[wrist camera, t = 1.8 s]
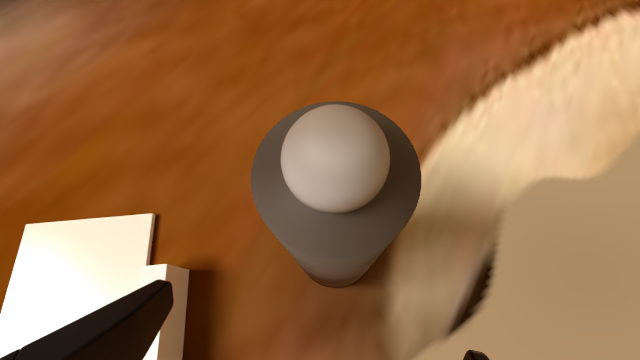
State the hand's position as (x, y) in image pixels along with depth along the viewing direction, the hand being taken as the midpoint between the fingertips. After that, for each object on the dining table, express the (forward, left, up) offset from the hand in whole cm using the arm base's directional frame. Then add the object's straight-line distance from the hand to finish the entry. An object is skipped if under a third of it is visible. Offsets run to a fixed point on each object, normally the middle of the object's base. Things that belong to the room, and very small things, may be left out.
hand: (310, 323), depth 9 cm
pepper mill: (+4, -1, -11) cm, 12 cm away
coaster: (+3, +16, -11) cm, 20 cm away
